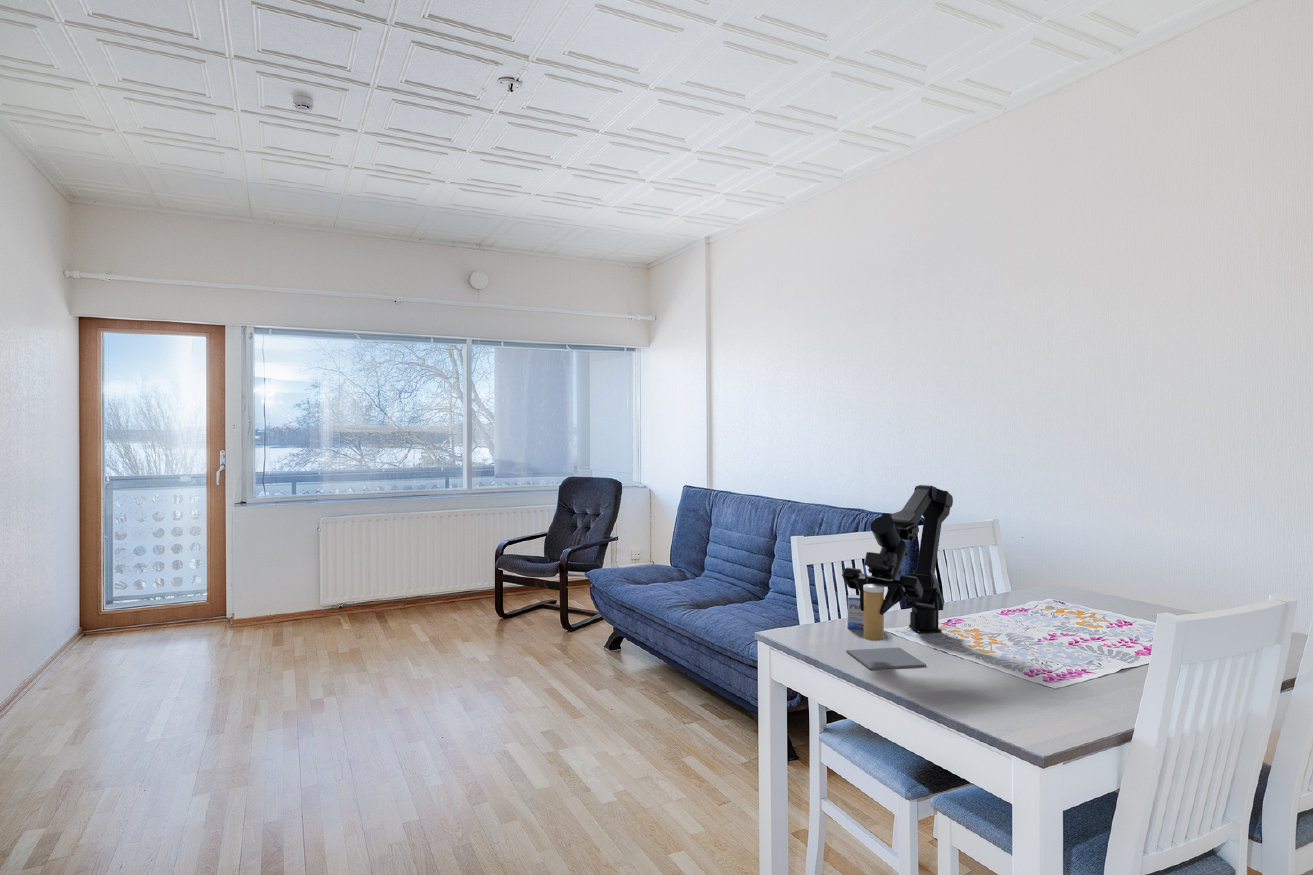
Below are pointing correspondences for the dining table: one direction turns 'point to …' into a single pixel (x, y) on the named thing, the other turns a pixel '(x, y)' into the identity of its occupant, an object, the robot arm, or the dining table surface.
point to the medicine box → (855, 613)
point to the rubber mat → (885, 658)
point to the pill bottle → (873, 612)
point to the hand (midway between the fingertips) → (871, 611)
